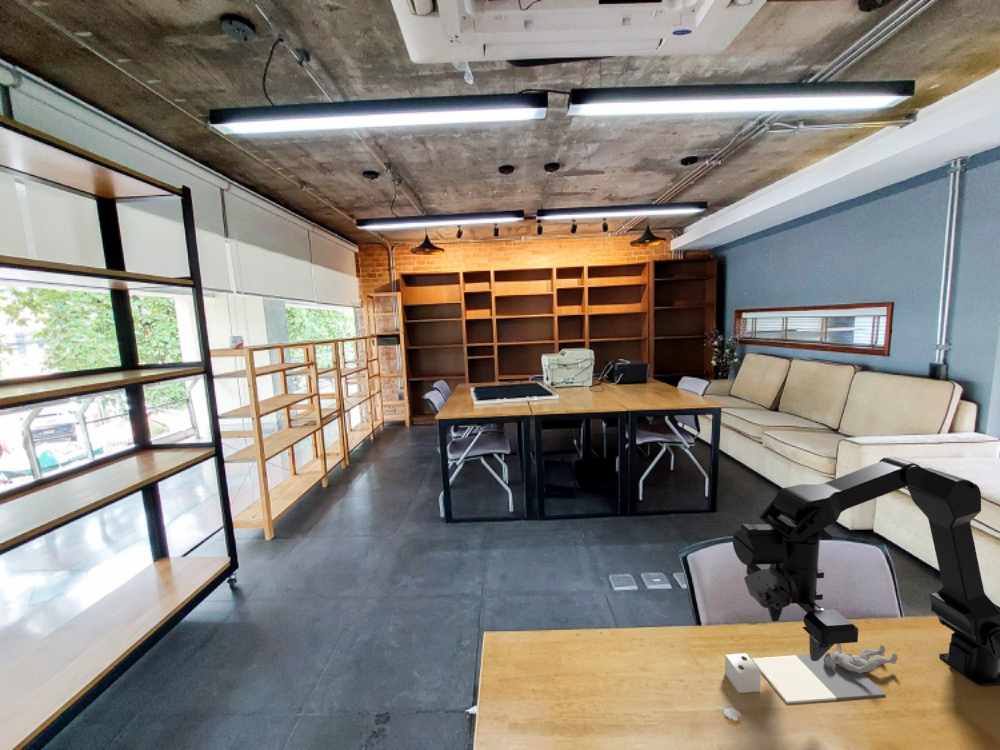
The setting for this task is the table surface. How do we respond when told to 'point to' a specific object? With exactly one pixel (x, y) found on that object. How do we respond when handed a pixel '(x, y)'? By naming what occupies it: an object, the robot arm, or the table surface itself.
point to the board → (814, 679)
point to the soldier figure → (859, 659)
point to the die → (742, 673)
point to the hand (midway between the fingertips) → (793, 639)
